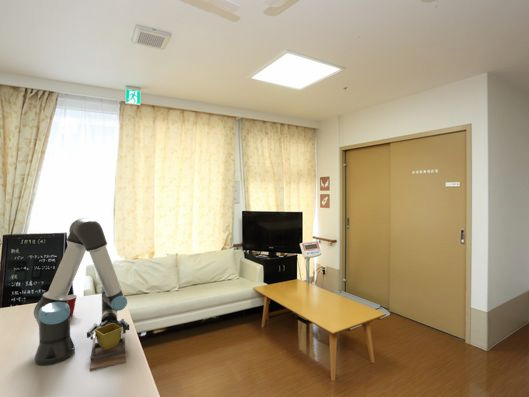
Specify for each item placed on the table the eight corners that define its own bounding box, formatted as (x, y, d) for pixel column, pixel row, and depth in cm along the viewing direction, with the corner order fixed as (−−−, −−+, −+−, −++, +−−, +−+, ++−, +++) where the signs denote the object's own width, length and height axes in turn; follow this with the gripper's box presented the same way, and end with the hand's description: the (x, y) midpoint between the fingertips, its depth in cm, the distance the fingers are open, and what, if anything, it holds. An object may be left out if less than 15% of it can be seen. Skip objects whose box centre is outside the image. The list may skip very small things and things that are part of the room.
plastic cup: (73, 311, 188) (73, 292, 188) (80, 315, 181) (80, 296, 181) (53, 316, 180) (53, 297, 179) (59, 321, 173) (59, 301, 173)
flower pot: (103, 354, 135) (103, 334, 135) (94, 347, 141) (94, 329, 140) (122, 346, 142) (122, 327, 142) (113, 340, 148) (113, 322, 147)
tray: (125, 362, 133) (125, 357, 133) (89, 371, 127) (89, 365, 127) (124, 341, 151) (124, 337, 151) (92, 348, 145) (92, 343, 145)
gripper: (133, 322, 163) (135, 340, 143) (83, 331, 152) (78, 352, 133) (133, 308, 162) (135, 325, 143) (83, 316, 152) (78, 335, 132)
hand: (108, 338), depth 138 cm, fingers closed on flower pot, 11 cm apart
